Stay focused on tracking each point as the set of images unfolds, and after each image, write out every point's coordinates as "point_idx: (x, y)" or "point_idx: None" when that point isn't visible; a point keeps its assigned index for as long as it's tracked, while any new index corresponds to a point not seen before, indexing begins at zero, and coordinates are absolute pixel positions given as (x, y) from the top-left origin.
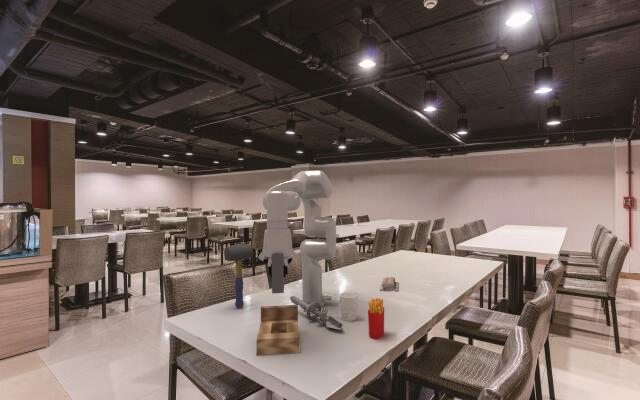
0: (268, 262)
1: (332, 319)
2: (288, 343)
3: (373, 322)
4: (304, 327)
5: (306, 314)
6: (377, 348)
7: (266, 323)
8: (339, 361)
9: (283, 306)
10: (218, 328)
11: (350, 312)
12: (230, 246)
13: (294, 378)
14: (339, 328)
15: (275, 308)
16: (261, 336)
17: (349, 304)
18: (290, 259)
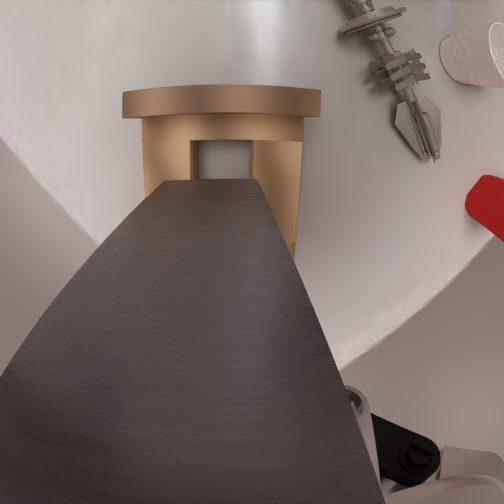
0: None
1: (423, 125)
2: None
3: (493, 233)
4: (318, 76)
5: (340, 31)
6: (452, 259)
7: (167, 142)
8: (364, 306)
9: (242, 102)
10: (26, 74)
11: (476, 83)
12: None
13: None
14: (424, 157)
15: (199, 112)
16: None
17: (493, 85)
18: (385, 492)
